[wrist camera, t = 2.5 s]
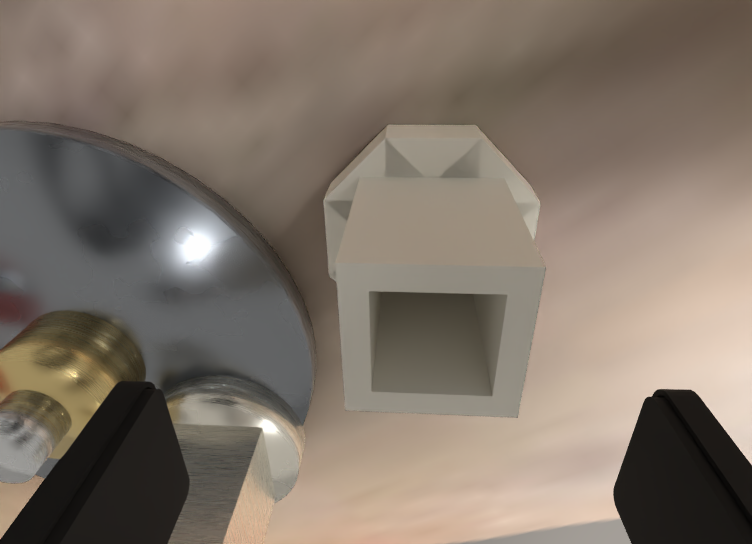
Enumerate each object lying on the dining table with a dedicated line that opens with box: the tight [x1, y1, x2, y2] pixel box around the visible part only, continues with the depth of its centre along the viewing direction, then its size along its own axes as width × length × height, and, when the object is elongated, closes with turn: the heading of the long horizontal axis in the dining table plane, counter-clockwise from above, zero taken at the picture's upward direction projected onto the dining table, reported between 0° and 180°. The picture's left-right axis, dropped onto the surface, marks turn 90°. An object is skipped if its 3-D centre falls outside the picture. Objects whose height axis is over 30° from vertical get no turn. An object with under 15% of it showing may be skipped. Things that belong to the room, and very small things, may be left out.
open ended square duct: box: [323, 125, 546, 418], centre depth 14 cm, size 7×7×7 cm
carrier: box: [0, 121, 316, 544], centre depth 18 cm, size 19×19×8 cm
